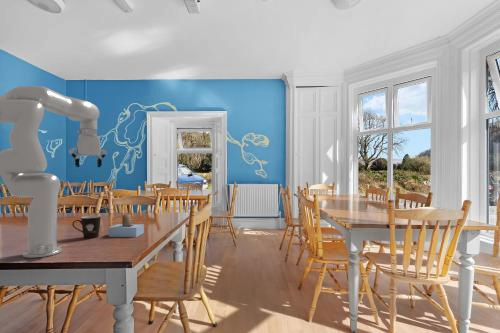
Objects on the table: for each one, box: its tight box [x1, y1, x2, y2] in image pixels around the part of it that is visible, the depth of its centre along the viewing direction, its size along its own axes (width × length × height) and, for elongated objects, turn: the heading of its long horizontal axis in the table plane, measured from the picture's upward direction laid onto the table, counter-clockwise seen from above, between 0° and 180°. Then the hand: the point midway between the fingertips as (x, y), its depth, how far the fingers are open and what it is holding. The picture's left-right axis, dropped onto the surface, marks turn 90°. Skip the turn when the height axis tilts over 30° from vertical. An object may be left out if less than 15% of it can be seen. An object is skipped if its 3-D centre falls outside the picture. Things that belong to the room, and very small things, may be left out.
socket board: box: [108, 223, 145, 238], centre depth 153 cm, size 14×9×4 cm, turn 86°
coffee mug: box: [72, 215, 102, 240], centre depth 148 cm, size 12×9×10 cm
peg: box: [121, 214, 132, 227], centre depth 153 cm, size 4×4×10 cm
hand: (88, 167), depth 152 cm, fingers open, 9 cm apart
